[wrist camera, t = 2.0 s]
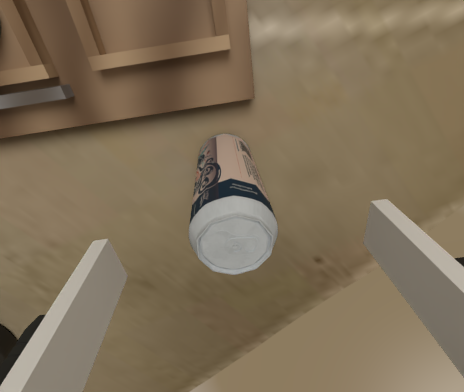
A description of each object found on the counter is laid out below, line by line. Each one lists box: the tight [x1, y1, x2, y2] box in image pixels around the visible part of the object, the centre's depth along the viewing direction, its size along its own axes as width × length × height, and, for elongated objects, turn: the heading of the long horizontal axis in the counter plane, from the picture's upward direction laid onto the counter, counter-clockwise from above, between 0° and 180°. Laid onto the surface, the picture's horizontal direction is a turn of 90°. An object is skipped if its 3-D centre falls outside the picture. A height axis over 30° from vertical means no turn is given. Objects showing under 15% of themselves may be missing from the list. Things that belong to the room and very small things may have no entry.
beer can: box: [189, 134, 278, 275], centre depth 17 cm, size 5×5×12 cm
